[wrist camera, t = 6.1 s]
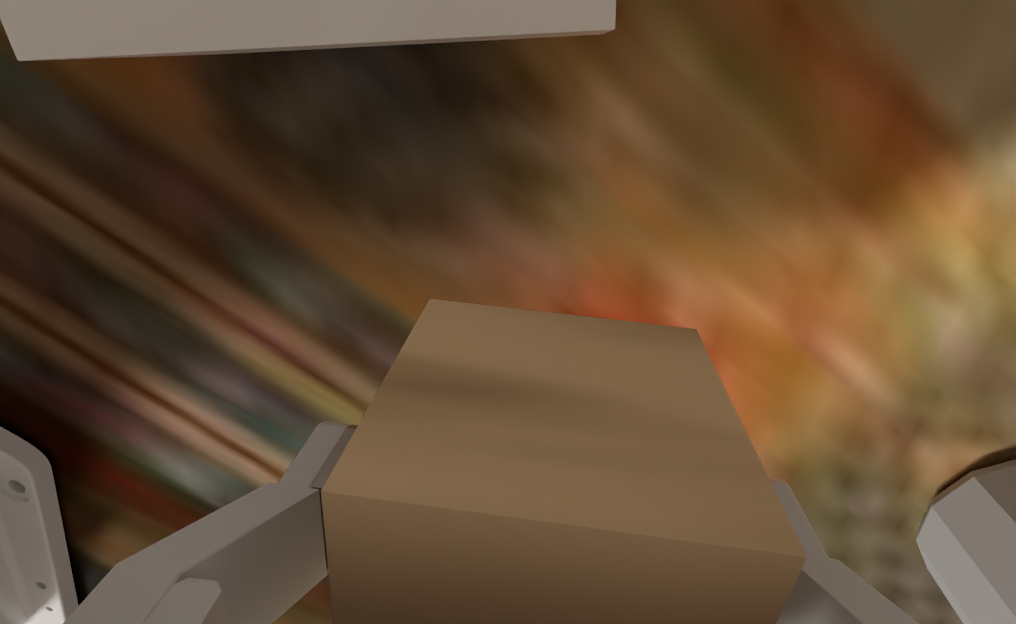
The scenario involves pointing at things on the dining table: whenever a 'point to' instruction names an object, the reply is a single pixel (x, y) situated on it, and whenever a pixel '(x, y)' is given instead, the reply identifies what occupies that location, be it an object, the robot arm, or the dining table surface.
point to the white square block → (281, 24)
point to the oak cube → (553, 482)
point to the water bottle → (975, 544)
